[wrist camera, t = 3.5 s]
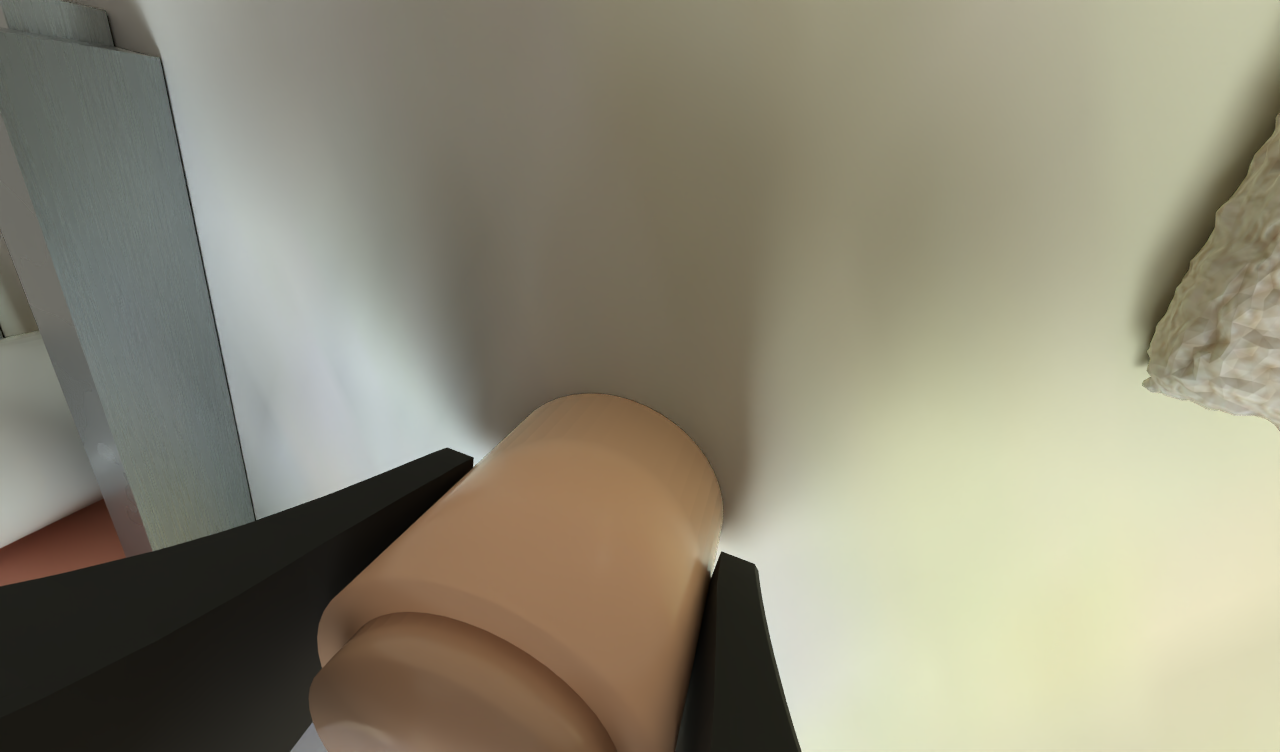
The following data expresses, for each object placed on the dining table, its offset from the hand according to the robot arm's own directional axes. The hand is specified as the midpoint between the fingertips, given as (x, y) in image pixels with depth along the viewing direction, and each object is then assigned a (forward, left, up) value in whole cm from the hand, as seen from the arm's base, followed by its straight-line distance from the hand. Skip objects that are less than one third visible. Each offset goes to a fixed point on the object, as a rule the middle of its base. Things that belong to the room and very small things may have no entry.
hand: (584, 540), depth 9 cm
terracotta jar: (0, 0, -1) cm, 1 cm away
